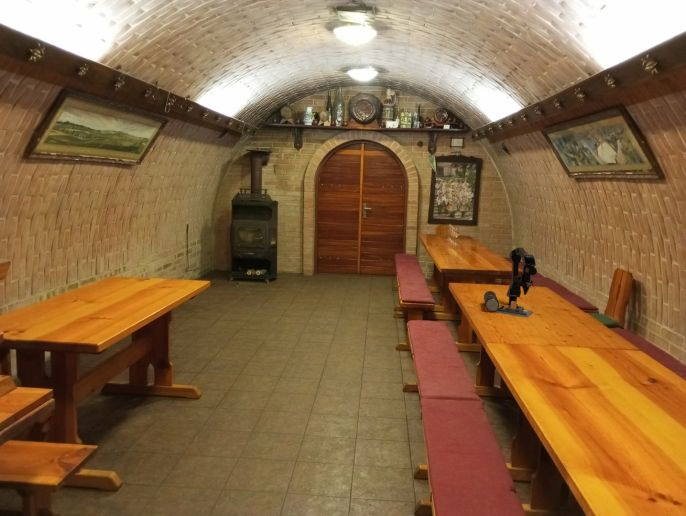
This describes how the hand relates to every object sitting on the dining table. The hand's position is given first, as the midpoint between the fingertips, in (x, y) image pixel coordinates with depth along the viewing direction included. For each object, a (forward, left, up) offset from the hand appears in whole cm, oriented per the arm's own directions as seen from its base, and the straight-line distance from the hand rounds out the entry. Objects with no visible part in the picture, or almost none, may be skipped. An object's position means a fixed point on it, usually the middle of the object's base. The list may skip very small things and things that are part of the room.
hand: (525, 294), depth 389 cm
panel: (+5, -5, -12) cm, 14 cm away
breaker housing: (+5, -4, -11) cm, 13 cm away
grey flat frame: (+5, -5, -11) cm, 14 cm away
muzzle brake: (+3, -22, -13) cm, 26 cm away
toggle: (+8, -5, -11) cm, 15 cm away
